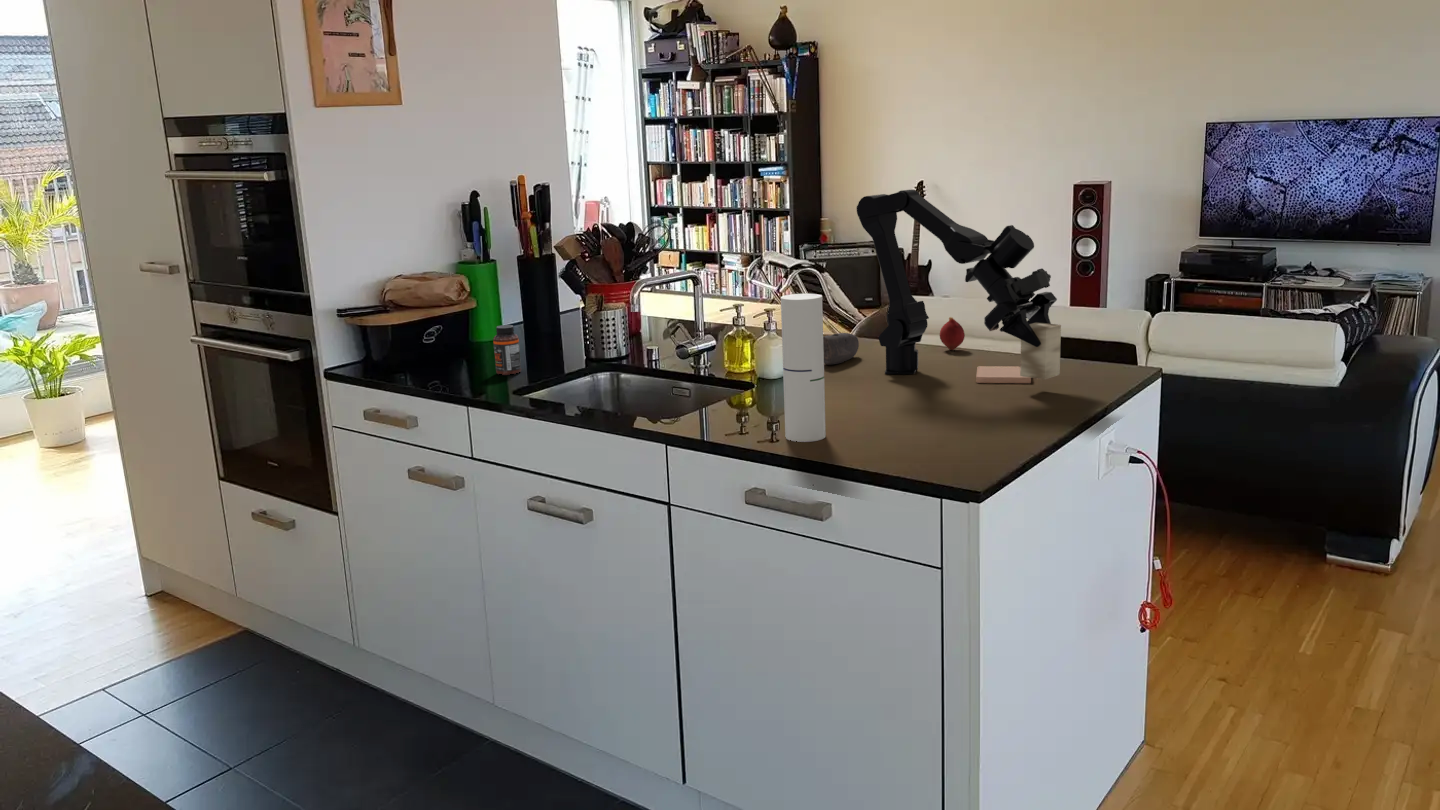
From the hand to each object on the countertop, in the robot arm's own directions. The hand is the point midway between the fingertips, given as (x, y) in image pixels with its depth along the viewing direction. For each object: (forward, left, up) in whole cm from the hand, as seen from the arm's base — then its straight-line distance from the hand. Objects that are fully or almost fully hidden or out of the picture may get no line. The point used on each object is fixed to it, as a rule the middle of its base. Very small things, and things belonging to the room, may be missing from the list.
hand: (1047, 343), depth 221 cm
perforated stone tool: (-45, +30, -10) cm, 55 cm away
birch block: (-1, +1, -7) cm, 7 cm away
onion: (-20, +44, -10) cm, 49 cm away
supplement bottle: (-122, +15, -10) cm, 124 cm away
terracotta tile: (-8, +14, -10) cm, 19 cm away
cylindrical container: (-42, -36, -10) cm, 57 cm away
